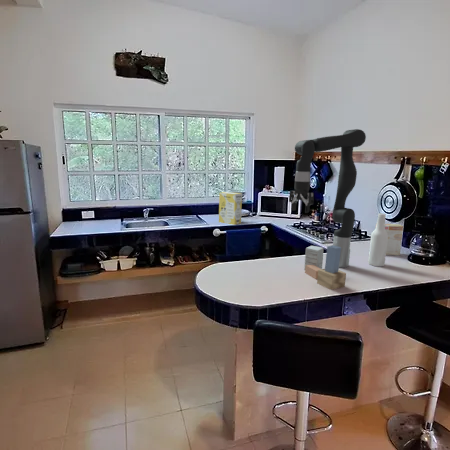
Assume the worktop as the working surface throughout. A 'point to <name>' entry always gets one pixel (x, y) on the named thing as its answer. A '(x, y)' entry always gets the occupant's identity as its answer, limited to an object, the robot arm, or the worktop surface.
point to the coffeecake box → (393, 238)
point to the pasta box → (230, 207)
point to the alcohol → (378, 243)
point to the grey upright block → (314, 256)
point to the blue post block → (332, 259)
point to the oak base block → (331, 279)
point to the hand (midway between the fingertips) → (300, 211)
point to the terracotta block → (312, 271)
